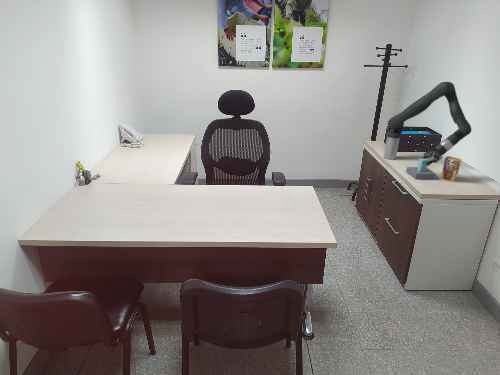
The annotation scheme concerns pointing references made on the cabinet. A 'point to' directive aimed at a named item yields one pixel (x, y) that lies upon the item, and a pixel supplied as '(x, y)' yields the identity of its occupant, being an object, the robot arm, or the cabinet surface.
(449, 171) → the candy box
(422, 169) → the teal peg
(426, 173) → the socket block
